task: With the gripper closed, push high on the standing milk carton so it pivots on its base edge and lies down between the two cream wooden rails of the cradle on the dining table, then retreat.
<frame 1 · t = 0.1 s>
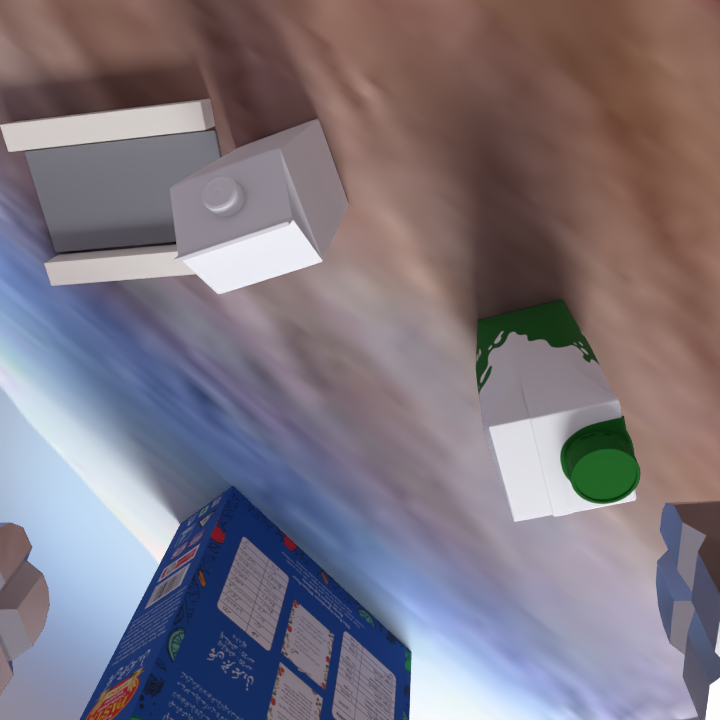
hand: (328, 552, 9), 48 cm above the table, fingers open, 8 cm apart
soya milk: (526, 344, 59), on the table
cradle: (133, 193, 56), on the table
milk carton: (293, 176, 55), on the table
pasta box: (299, 588, 73), on the table
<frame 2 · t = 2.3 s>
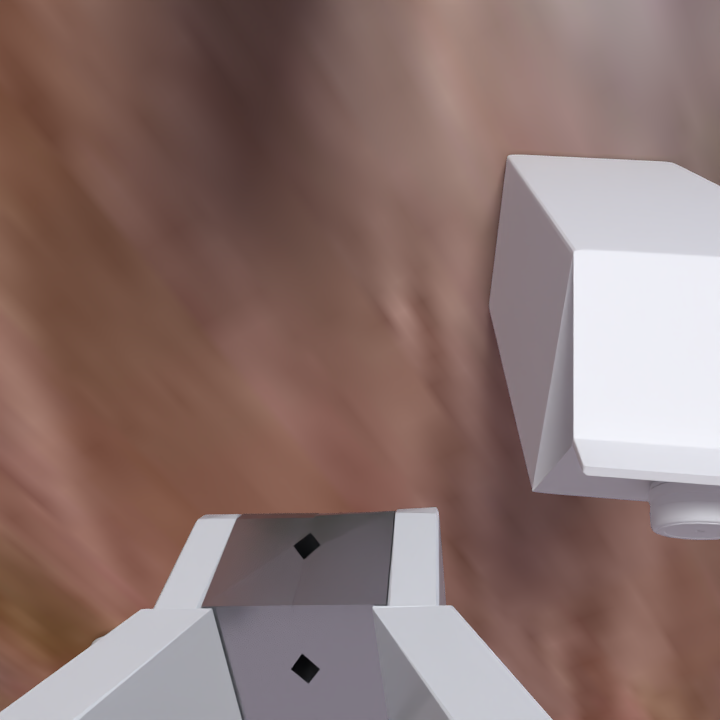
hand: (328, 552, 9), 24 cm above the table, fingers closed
milk carton: (574, 236, 31), on the table
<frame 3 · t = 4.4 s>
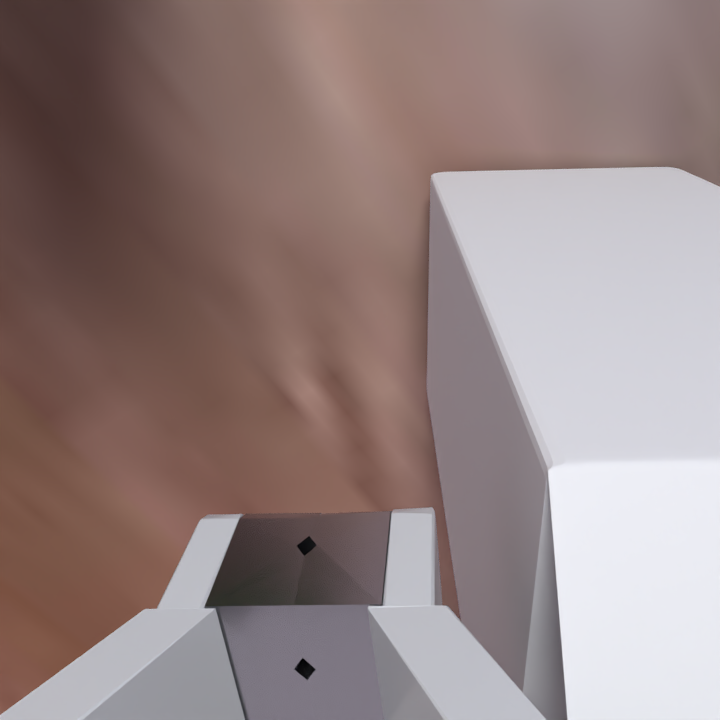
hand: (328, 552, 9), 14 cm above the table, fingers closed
milk carton: (540, 282, 21), on the table, touching gripper
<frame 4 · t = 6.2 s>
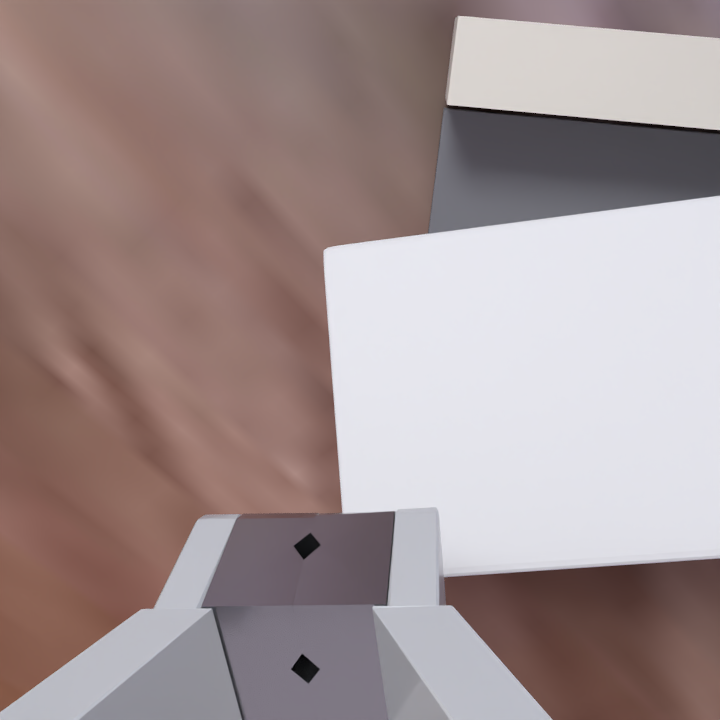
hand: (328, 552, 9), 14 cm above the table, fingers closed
cradle: (686, 276, 21), on the table
milk carton: (344, 423, 18), point 6 cm above the table, touching cradle
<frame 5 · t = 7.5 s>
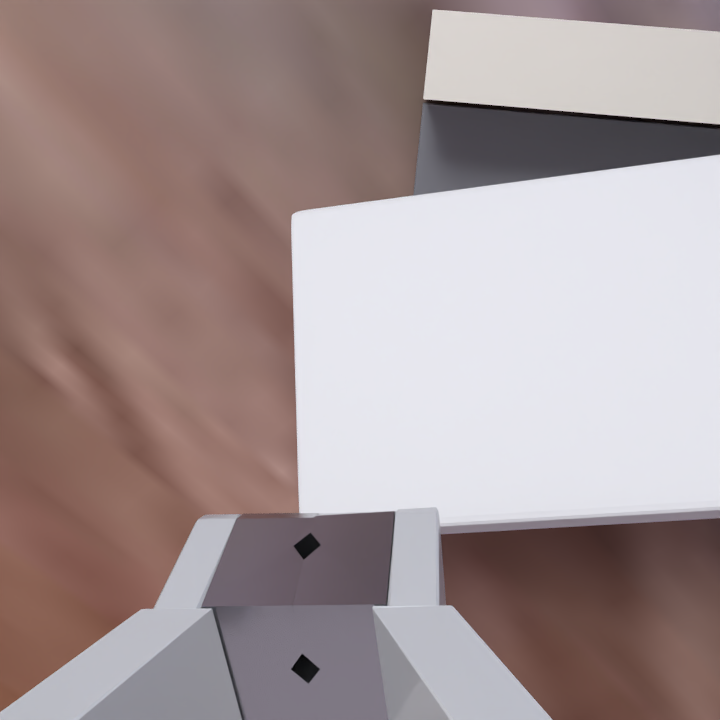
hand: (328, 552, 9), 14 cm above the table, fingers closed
cradle: (669, 271, 21), on the table
milk carton: (316, 397, 18), point 5 cm above the table, touching cradle
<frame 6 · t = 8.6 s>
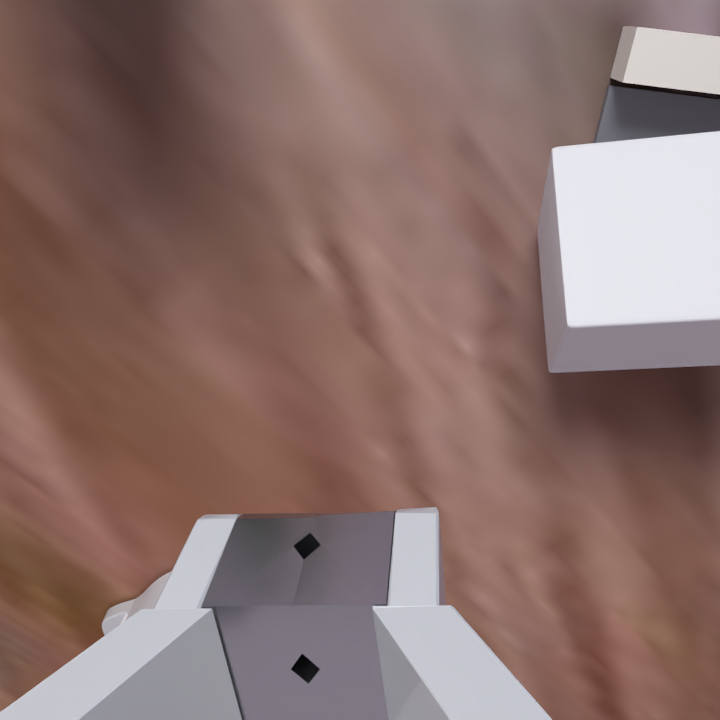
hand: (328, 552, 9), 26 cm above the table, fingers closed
milk carton: (540, 270, 28), point 5 cm above the table, touching cradle
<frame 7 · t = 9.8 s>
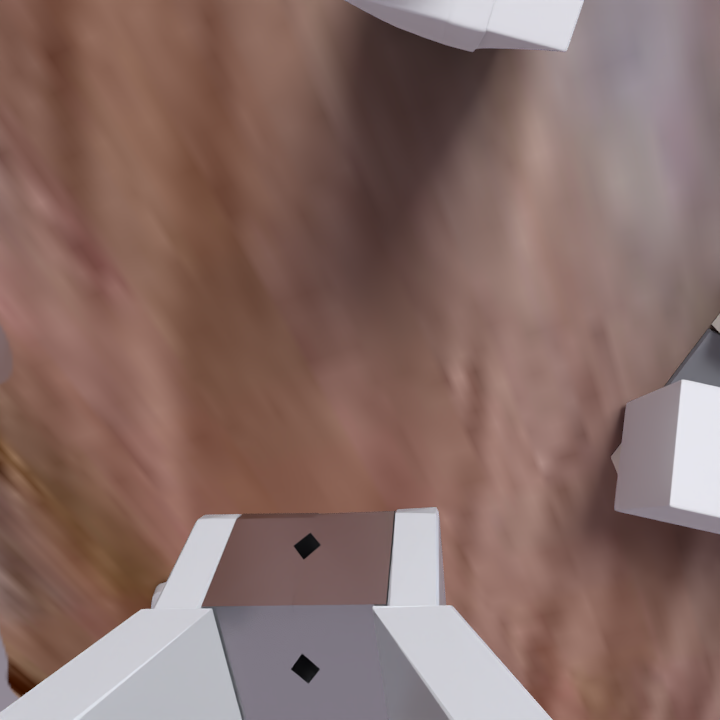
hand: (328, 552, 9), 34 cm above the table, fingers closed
milk carton: (639, 447, 40), point 5 cm above the table, touching cradle
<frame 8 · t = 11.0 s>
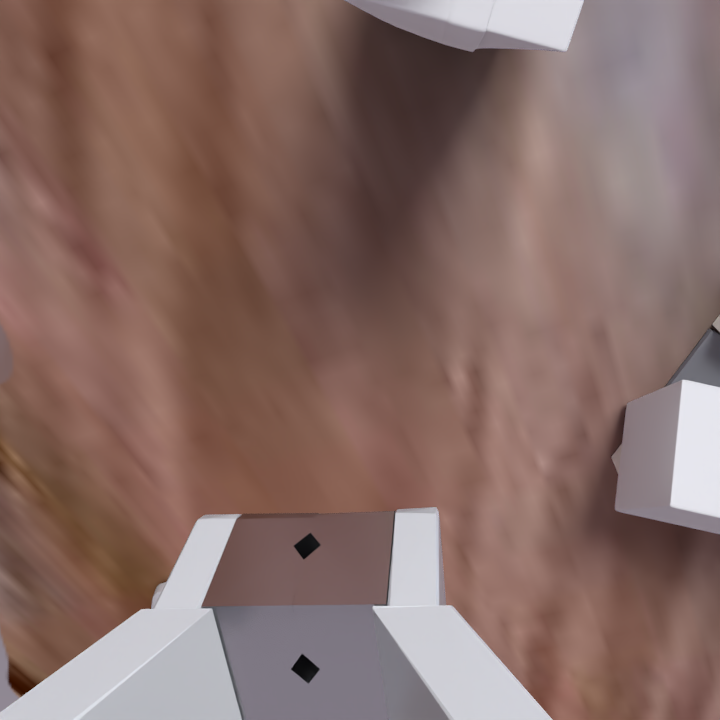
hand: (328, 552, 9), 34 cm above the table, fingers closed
milk carton: (639, 447, 40), point 5 cm above the table, touching cradle
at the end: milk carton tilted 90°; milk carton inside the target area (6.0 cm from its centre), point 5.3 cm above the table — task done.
